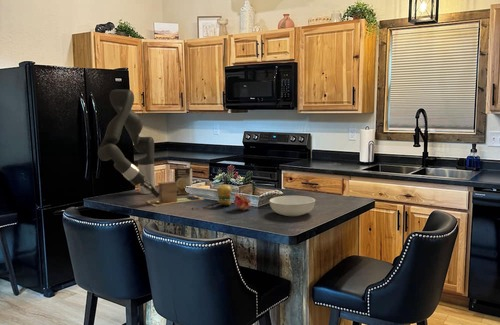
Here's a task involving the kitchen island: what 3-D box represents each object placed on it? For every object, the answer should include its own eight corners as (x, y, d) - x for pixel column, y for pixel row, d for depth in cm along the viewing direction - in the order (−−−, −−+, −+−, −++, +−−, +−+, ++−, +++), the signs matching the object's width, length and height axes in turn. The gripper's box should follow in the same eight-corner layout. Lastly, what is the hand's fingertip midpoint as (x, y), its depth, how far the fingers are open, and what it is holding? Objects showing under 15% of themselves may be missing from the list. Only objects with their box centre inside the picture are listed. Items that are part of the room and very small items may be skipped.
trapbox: (146, 204, 235) (145, 200, 235) (193, 198, 249) (193, 195, 249) (155, 209, 223) (155, 205, 223) (204, 202, 237) (204, 199, 237)
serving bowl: (281, 207, 223) (281, 194, 222) (321, 211, 212) (321, 197, 212) (261, 216, 205) (261, 201, 204) (304, 221, 195) (304, 205, 194)
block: (159, 201, 234) (158, 182, 233) (173, 200, 238) (172, 181, 237) (162, 203, 230) (161, 184, 229) (177, 201, 234) (176, 182, 233)
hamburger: (234, 204, 231) (233, 181, 230) (229, 207, 224) (229, 183, 223) (220, 204, 233) (219, 181, 232) (215, 207, 226) (214, 183, 225)
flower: (233, 209, 212) (243, 195, 213) (225, 202, 220) (235, 188, 220) (247, 218, 218) (257, 204, 218) (239, 210, 225) (248, 197, 225)
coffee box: (174, 196, 255) (173, 168, 253) (177, 194, 262) (176, 167, 260) (190, 196, 254) (189, 168, 252) (193, 194, 261) (192, 167, 259)
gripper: (142, 169, 219) (167, 192, 226) (134, 167, 230) (158, 188, 238) (132, 181, 216) (157, 203, 224) (124, 178, 228) (148, 199, 235)
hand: (158, 195), depth 231 cm, fingers closed
